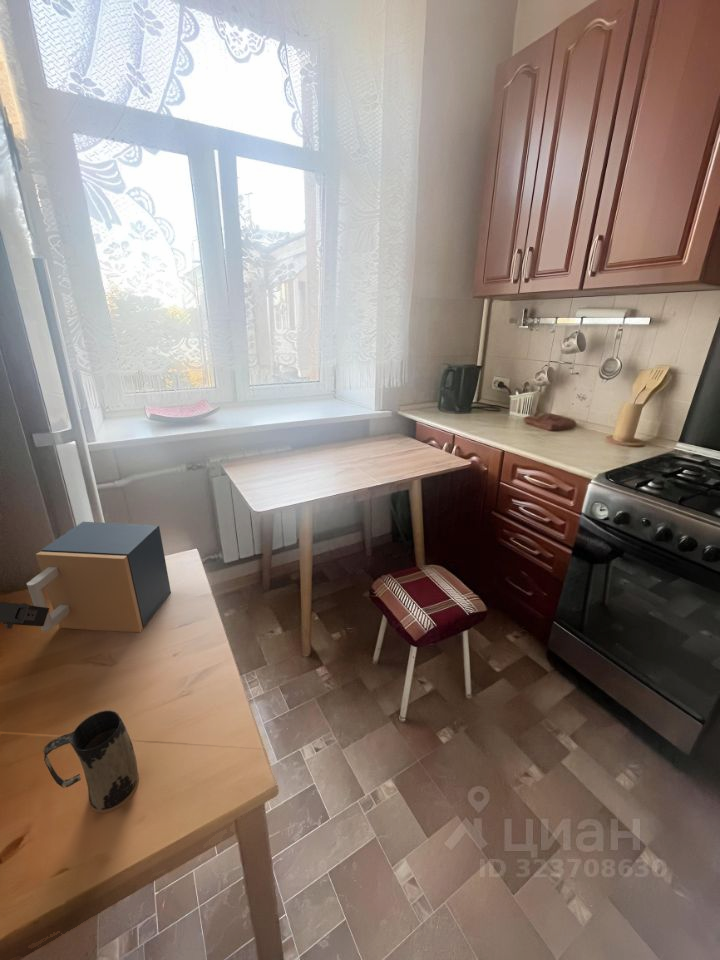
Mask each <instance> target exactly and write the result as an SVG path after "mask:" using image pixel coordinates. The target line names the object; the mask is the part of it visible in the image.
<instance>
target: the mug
mask: <svg viewBox="0 0 720 960" xmlns="http://www.w3.org/2000/svg"><path fill="white" fill-rule="evenodd" d="M68 744H70V745H71V746H72V748H73V750H74V753H76V754H77V757H78V759H79V762H80V764H81V767H82V770H83V774H84V778H85V781H86V786H87V791H88V793H87V794H88V801H89V805H90V808H91V809H92V810H93V811H94V812H97V813H99V814H101V813H102V814H105V813H110V812H113V811H115V810H117V809H120V807H122V806H123V805H124V804H126V803H127V802H128V801H130V799H131V798H132V797H133V795H134V794H135V792H136V790H137V788H138V786H139V781H140V775H139V774H140V773H139V771H138V762H137V757H136V754H135V749H134V745H133V742H132V740H131V738H130V734H129V732H128V730H127V727H126V725H125V724H124V721H123V720H122V717H121V716H120V715H119V713H117V712H116V711H113V710H102V711H98V712H96V713H94V714H92V715H90V716H88V717H87V718H85V719H84V720H83V721H81V722H80V723H79V725H77V726H76V728H75V729H74V731H72V732H70V733H66V734H63V735H60V736H58V737H56V738H54V739H52V740H51V741H49V742H48V743H47V744H46V745H45V746H44V749H43V754H44V755H43V756H44V757H43V761H44V764H45V766H46V767H47V769H48V771H49V773H50V775H51V777H52V779H53V780H54V781H55V783H56V785H59V786H60V787H61V788H63V789H64V788H68V787H71V786H73V785H74V784H76V783H77V782H79V781H81V780H82V779H81V773H77V774H75V775H73V777H70V778H69V779H62V777H60V776H59V775H58V774H57V772H56V770H55V769H54V767H53V765H52V763H51V761H50V759H49V757H48V755H49V754H50V753H52V751H54V750H56V749H58V748H60V747H62V746H65V745H68Z"/></svg>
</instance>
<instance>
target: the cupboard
mask: <svg viewBox="0 0 720 960" xmlns="http://www.w3.org/2000/svg"><path fill="white" fill-rule="evenodd" d="M163 545H164V544H163V540H162V534H161V528H160V525H159V524H141V523H140V524H139V523H123V522H122V523H120V522H101V521H100V522H99V521H98V522H97V521H82V522H80V523H79V524H77V525H76V526H74V527H73V528H72V529H70V530H68V531H67V532H65V533H64V534H62V535H61V536H59V537H58V538H56V539H55V540H53V541H52V542H50V543H49V544H48V545H46V546H45V547H43V548H41V551H40V552H60V553H79V554H99V555H119V556H127V558H128V563H129V568H130V572H131V577H132V581H133V586H134V590H135V595H136V599H137V604H138V608H139V613H140V618H141V622H142V627H143V629H144V628H145V627H146V626H147V625H148V623H150V621H151V620H152V619H153V617H154V616H155V614H156V613H157V612H158V610H159V609H160V608H161V606H162V605H163V604H164V602H165V601H166V600H167V598H168V597H169V596H170V595H171V593H172V591H171V585H170V584H171V583H170V579H169V574H168V567H167V562H166V556H165V551H164V546H163Z"/></svg>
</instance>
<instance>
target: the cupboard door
mask: <svg viewBox="0 0 720 960" xmlns="http://www.w3.org/2000/svg"><path fill="white" fill-rule="evenodd" d="M35 555H36V556H35V557H36V560H37V563H38V567H39V569H40V573H39V574H37V575H36V576H34V577H33V578H31V579H30V580H29V581H28V582H26V586H27V589H28V593H29V595H30V599H31V601H32V604H33V606H37V607H45V608H48V604H47V602H46V599H45V596H44V592H43V588H44V587H45V588H46V591H47V594H48V597H49V600H50V603H51V606H52V611H51V612H50V610H49V611H48V614H47V617H46V620H45V623H44V626H40V628H41V631H42V632H44V633H45V632H50V631H52V630H53V629H54V628H55V627H56V626H57V625H58V628H59V629H72V630H74V629H75V630H91V631H105V632H106V631H109V632H123V633H124V632H125V633H126V632H127V633H141V632H142V631H143V629H144V628H143V627H142V622H141V618H140V613H139V608H138V604H137V599H136V595H135V590H134V586H133V581H132V577H131V572H130V568H129V563H128V558H127V556H119V555H99V554H79V553H60V552H42V551H38V552H37V553H36V554H35Z"/></svg>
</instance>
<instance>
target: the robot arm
mask: <svg viewBox="0 0 720 960" xmlns="http://www.w3.org/2000/svg"><path fill="white" fill-rule="evenodd" d="M48 611H49V612H50V607H47V608H45V607H37V606H34V605H30V604H29V603H26V602H25V603H24V602H23V603H16V602H5V601H0V623H2V624H3V625H5V628H4V629H6V630H7V629H8V630H12V629H13V627H14V626H15V625H16V626H28V627H29V626H30V627H41V626H44V623H45V620H46V617H47V614H48Z"/></svg>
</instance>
